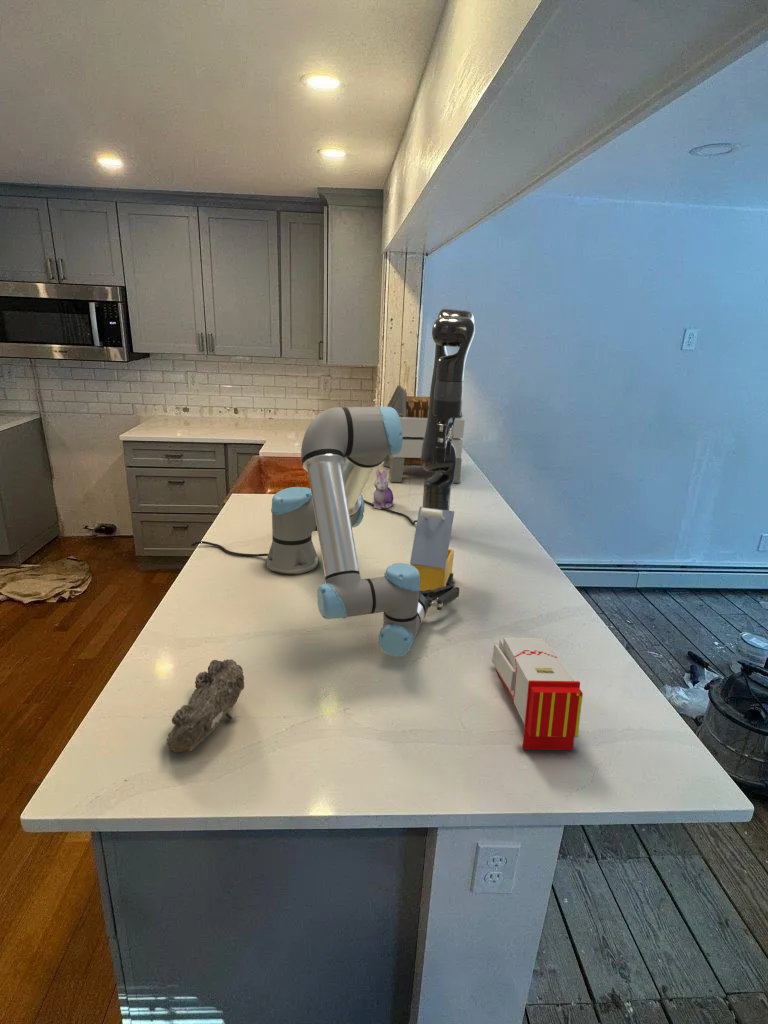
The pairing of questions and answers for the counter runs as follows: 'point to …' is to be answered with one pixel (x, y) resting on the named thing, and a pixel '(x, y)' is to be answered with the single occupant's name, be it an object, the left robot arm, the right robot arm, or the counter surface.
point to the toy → (540, 692)
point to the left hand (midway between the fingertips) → (428, 573)
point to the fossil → (206, 705)
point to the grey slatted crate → (417, 434)
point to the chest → (435, 574)
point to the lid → (432, 537)
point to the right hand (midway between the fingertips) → (443, 458)
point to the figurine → (382, 491)
